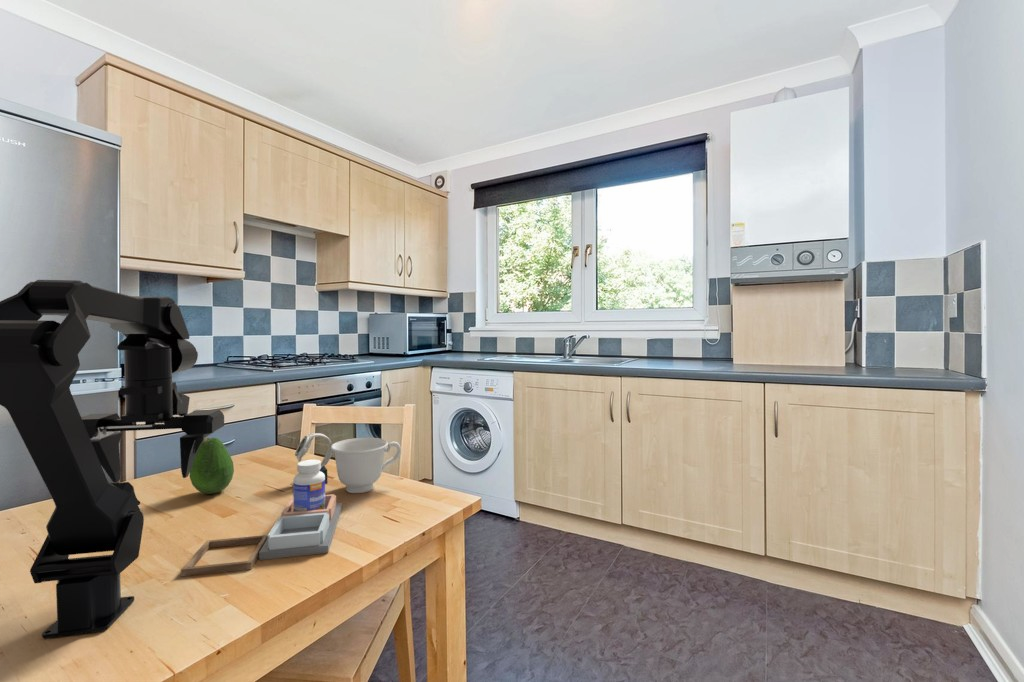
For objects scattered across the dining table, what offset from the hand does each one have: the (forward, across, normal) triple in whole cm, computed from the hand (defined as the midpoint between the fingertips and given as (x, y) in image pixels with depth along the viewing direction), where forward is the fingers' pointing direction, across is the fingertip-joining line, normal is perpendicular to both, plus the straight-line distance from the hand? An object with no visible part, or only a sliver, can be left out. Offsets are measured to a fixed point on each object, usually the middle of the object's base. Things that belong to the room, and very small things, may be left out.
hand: (151, 479), depth 72 cm
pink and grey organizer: (+12, -21, -5) cm, 25 cm away
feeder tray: (+12, -11, +2) cm, 17 cm away
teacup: (+13, -30, -25) cm, 41 cm away
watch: (+13, -18, -32) cm, 39 cm away
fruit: (+13, +2, -29) cm, 32 cm away
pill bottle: (+12, -21, -9) cm, 26 cm away
